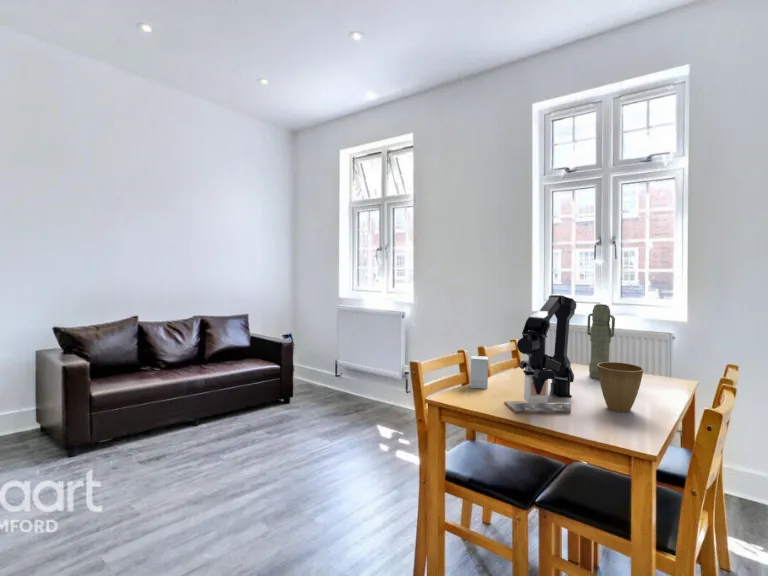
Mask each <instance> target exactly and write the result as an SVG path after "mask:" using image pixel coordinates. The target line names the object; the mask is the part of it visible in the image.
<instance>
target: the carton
mask: <svg viewBox="0 0 768 576" xmlns="http://www.w3.org/2000/svg"><path fill="white" fill-rule="evenodd" d="M532 376H534V375H525V374H524V384H523V385H524V389H523V390H524V391H523V399H524V401H527V402H529V403H533V402H547V401H549V400H548V398H549V397H548V395H549V379H547V380H546V381H545V383H544V385H543V388H542V391H541V393H540V394H537V393H536V390H535V386H534V383H533V379H532Z"/></svg>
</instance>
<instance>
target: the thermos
mask: <svg viewBox="0 0 768 576" xmlns="http://www.w3.org/2000/svg"><path fill="white" fill-rule="evenodd" d="M591 317H592V318H591ZM591 320H592V324H591ZM610 322H611V324H610ZM615 325H616V317H615V316H614V315H612V314H611V309H610V306H609V305H607V304H604V303H603V304H599V303H597V304H594V306H593V308H592V313H589V314H588V316H587V330H586V331H587V335H588V336H589V340H590V362H589V363H588V364H589V365H588V372H589V375H588V376H590V377H592V378H591V379H594V378H596V379H595V380H600V379H599V373H598V364H599V363H603V362H609V361H610V344H611V342H612V338H613V337H614V336H615ZM590 377H589V378H590Z"/></svg>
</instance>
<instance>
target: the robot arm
mask: <svg viewBox="0 0 768 576" xmlns="http://www.w3.org/2000/svg"><path fill="white" fill-rule="evenodd" d="M576 308H577V302H576V300H574V298H572V297H567V296H565V295H562V294H553V293H552V294H549V296H548V299H547V300H546V302H545V303H544V304H543V305H542V307H541V308H540V309H539V310H538V311H537V312H535V313H534V312H533V313H532V314H530V316H529V317H528V318H527V319H526V321H525V323H524V327H523V329H522V332H521V335H522V337H521V338H519V340H518V341H517V343H516V347H517V350H518V352H519V353H521V354H523V355H527V356H528V360H521V361H520V362H519V368H520V369H521V370H523V371H522V372H523V374H524V376H525V375H534V376H532V379H533V383H534V386H535V390H536V393H537V394H540V393H541V391H542V388H543V385H544V383H545V381H546V380H547V379H548V380H551V382H550V391H549V393H550V395H552V396H554V397H557V398H565V397H566V398H572V397H573V396H572V395H571V383H574V380H575V375H574V372H573V369H572V367H571V363H572V362H571V361H570V360H569V357H568V345H569V334H570V333H569V331H570V322H571V321H570V320H571V319H572V318H573V316H575V314H576V313H575V311H576ZM554 315H555V317H556V327H555V330H556V331H555V340H554V341H555V342H554V353H553V355H552V356H551V355H548V354H547V353H546V338H548V334H547V333H548V332H549V329H550V328H551V322H550V320H551V319H552V318H553V317H554Z"/></svg>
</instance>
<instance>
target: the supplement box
mask: <svg viewBox="0 0 768 576" xmlns="http://www.w3.org/2000/svg"><path fill="white" fill-rule="evenodd" d="M469 372H470V373H469V374H470V376H469V377H470V379H469V380H470V383H469V384H470V385H469V387H470V388H471V389H472V388H474V389H485V390H488V388H489V387H488V380H489V357H488V356H479V355H471V357H470V371H469Z"/></svg>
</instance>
